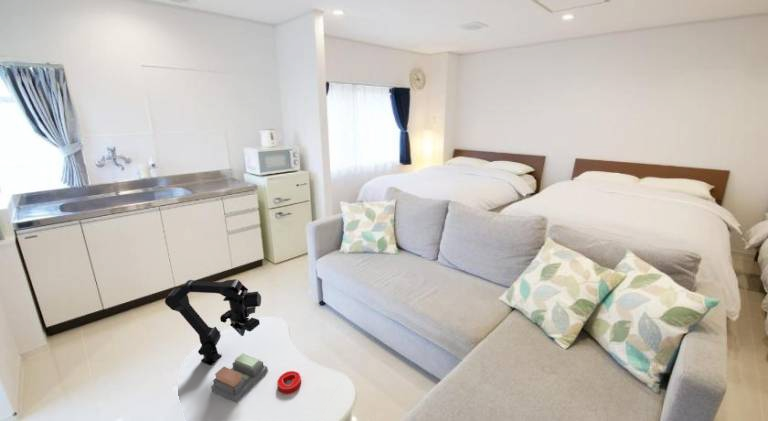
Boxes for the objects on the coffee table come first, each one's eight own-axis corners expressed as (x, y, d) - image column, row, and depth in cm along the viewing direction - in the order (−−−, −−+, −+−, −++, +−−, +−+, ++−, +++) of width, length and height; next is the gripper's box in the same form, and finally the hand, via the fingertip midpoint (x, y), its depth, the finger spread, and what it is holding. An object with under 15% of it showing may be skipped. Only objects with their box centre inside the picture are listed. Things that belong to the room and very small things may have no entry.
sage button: (236, 366, 149) (234, 359, 148) (243, 360, 153) (242, 353, 151) (253, 373, 145) (251, 366, 144) (260, 366, 149) (259, 359, 147)
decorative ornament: (279, 378, 147) (278, 372, 146) (301, 374, 149) (300, 368, 148) (277, 396, 138) (276, 390, 137) (300, 392, 140) (300, 386, 139)
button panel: (211, 391, 141) (209, 381, 139) (244, 361, 156) (242, 352, 154) (236, 402, 135) (233, 392, 133) (267, 371, 151) (266, 361, 149)
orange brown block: (216, 381, 140) (215, 373, 139) (225, 373, 144) (223, 366, 142) (234, 389, 136) (232, 381, 135) (242, 381, 140) (241, 373, 138)
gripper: (265, 302, 154) (270, 330, 159) (236, 293, 161) (241, 320, 166) (247, 316, 144) (252, 345, 149) (216, 305, 151) (222, 334, 157)
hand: (242, 335), depth 156 cm, fingers closed
